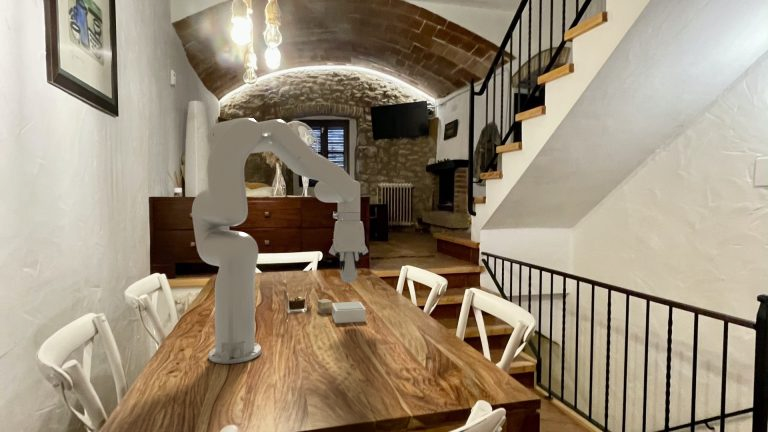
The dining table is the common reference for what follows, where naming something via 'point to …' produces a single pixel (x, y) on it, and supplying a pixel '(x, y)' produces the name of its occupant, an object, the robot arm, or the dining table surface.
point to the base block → (348, 312)
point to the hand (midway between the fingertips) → (348, 271)
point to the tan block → (324, 306)
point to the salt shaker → (348, 268)
